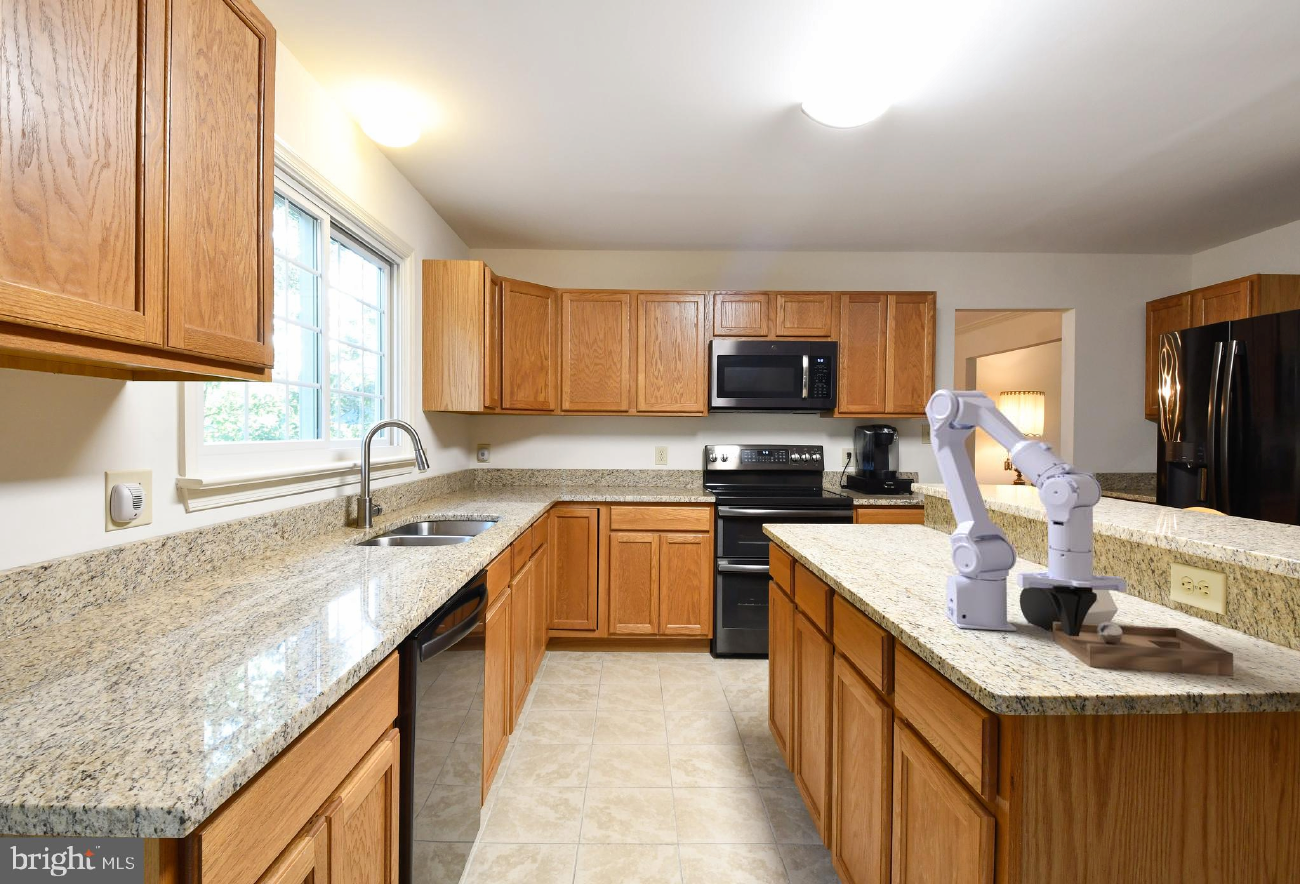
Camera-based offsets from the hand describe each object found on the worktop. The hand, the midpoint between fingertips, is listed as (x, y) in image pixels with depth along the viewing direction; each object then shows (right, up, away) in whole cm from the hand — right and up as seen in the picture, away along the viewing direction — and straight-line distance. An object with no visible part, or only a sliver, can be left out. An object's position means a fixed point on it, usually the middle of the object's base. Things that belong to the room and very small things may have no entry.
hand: (1070, 634), depth 89 cm
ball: (+5, +1, -1) cm, 5 cm away
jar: (+15, +1, +14) cm, 21 cm away
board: (+9, -3, -2) cm, 9 cm away
